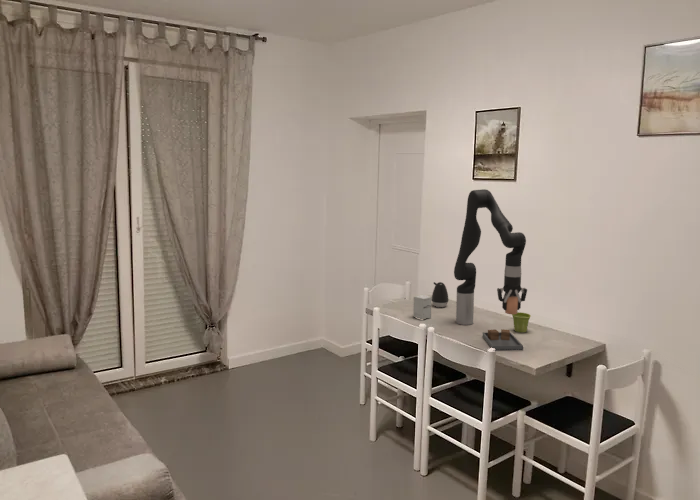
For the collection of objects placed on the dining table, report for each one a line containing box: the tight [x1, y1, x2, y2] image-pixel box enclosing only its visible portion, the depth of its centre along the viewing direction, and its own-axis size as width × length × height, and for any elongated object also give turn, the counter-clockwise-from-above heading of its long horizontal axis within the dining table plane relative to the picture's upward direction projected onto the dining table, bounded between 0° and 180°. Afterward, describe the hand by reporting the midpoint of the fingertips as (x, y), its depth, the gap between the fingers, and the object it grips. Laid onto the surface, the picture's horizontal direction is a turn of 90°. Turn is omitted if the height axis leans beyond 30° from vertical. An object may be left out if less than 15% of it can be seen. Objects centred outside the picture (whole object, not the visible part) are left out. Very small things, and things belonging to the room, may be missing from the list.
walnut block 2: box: [500, 328, 511, 340], centre depth 260 cm, size 4×4×4 cm
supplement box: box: [412, 294, 432, 319], centre depth 297 cm, size 7×7×13 cm
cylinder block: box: [504, 296, 519, 315], centre depth 250 cm, size 6×6×8 cm
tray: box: [481, 331, 524, 351], centre depth 255 cm, size 20×14×2 cm
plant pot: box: [511, 311, 532, 334], centre depth 273 cm, size 9×9×9 cm
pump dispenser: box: [431, 281, 449, 308], centre depth 322 cm, size 10×10×15 cm
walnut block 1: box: [487, 329, 500, 340], centre depth 260 cm, size 4×4×4 cm
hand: (511, 309), depth 250 cm, fingers closed on cylinder block, 5 cm apart
